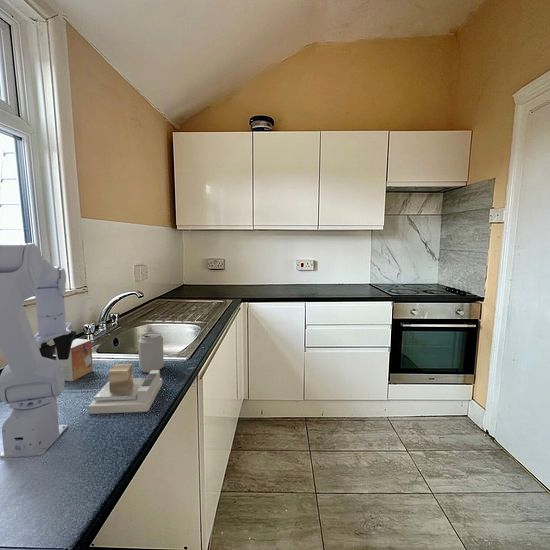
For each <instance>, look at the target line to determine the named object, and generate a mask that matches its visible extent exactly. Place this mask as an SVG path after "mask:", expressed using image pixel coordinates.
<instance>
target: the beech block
mask: <svg viewBox="0 0 550 550" xmlns="http://www.w3.org/2000/svg"><path fill="white" fill-rule="evenodd" d="M133 368H134V364H133V363H115V364H114V365H113V366H112V367H111V368H110V370H108V381H109V388H110V391H128V390H129V388H130V387H131V385H132V384H133V378H134V369H133Z"/></svg>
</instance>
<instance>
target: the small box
mask: <svg viewBox="0 0 550 550" xmlns="http://www.w3.org/2000/svg"><path fill="white" fill-rule="evenodd" d="M92 345H93V344H92V339H85V338H74V340H73V342H72V345H71V349H70V354H69V358H68V359H67V360H59V359H58V356H57V350H56V349H55V360H56V361H58V364H59V365H60V366H61V367H62V368H63V369H64V373H65V382H66V381H67V382H74V381H76V380H79V378H82V377H83V376H85V375H87V374H90V373H92V372H94V371H93V347H92Z"/></svg>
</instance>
